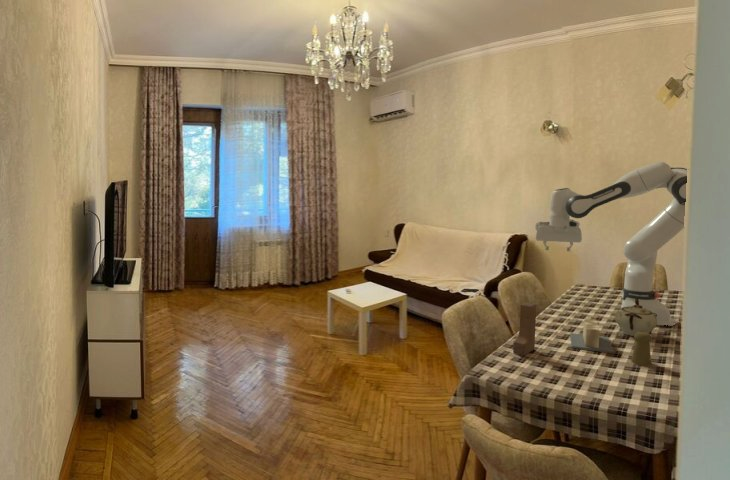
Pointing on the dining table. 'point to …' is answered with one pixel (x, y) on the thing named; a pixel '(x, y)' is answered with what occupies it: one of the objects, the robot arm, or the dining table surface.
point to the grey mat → (579, 343)
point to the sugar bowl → (635, 319)
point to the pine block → (591, 333)
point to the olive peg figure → (642, 349)
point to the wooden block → (526, 330)
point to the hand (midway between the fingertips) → (557, 250)
